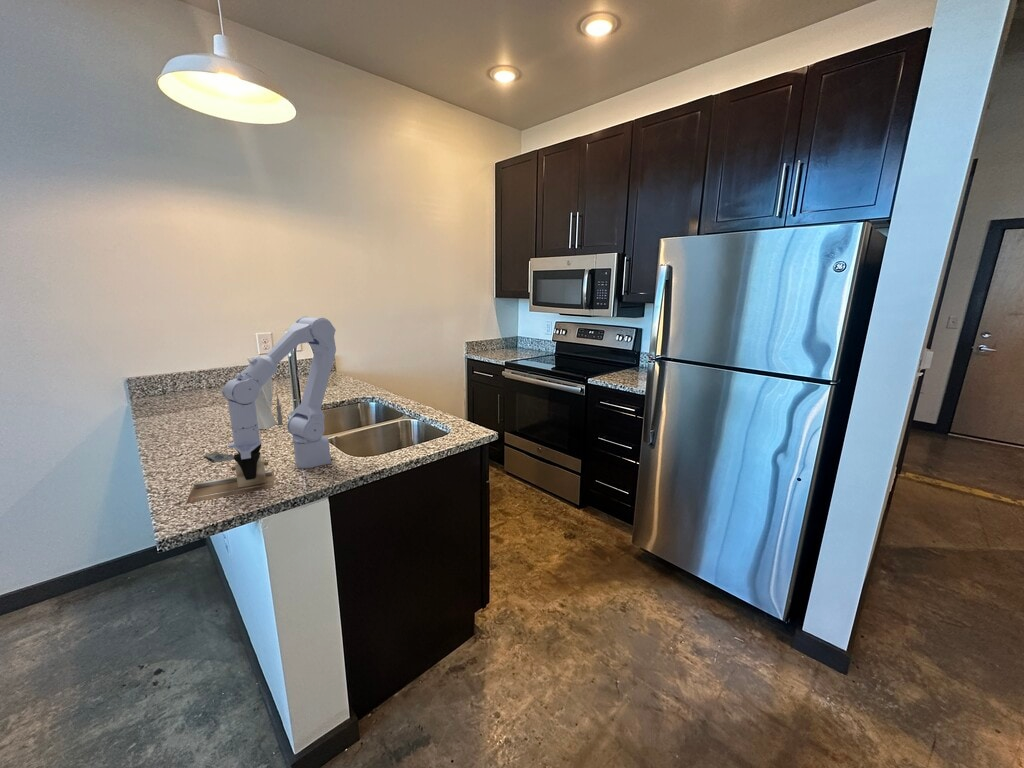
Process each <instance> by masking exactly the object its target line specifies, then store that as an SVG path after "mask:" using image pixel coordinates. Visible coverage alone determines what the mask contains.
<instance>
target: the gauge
mask: <svg viewBox="0 0 1024 768" xmlns="http://www.w3.org/2000/svg"><path fill="white" fill-rule="evenodd" d="M266 466H269V461H265V458H264V456H263V455H262V456H261V455H260V457H259V459H258V462H257V472H256V478H255V479H250V480H246V479H245V477H244V474H243V472H242V469H241V467H240V466H239V464H238V463H237V462H236V461H235V464H234V466H232V467H231V472H233V471H234V472H235V477H236V476H237V483H238V488H239V487H244V486H250V485H256V484H261V483H265V482H266V474H265V472H266V468H265V467H266Z"/></svg>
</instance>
